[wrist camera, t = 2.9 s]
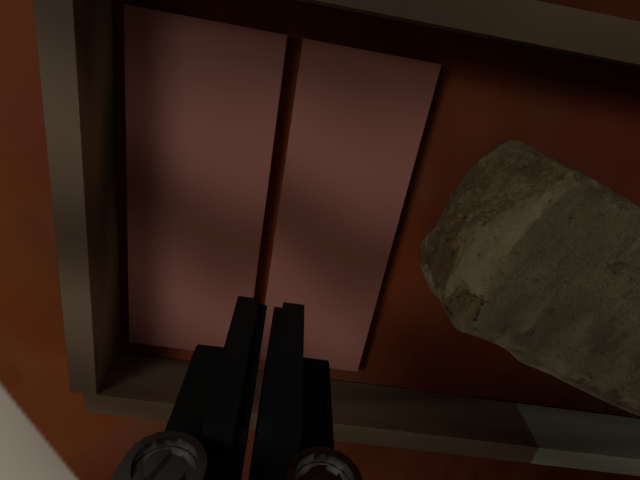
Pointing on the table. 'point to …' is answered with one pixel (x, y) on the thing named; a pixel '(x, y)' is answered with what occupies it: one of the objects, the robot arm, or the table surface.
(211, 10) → the table surface
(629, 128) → the table surface
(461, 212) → the stone block
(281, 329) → the robot arm
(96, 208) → the frame
